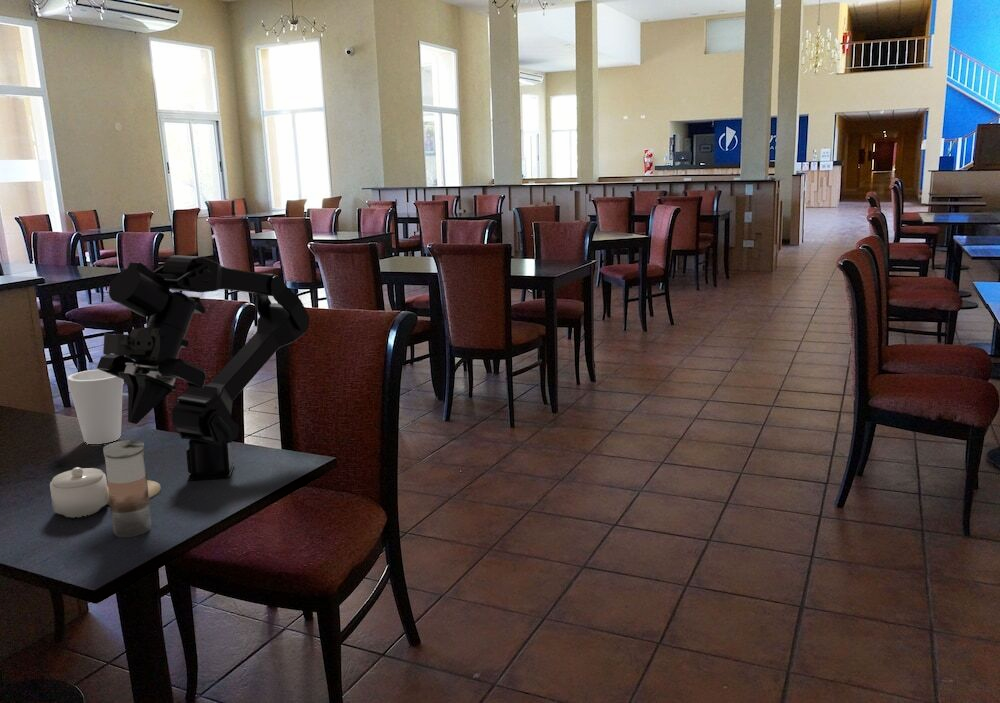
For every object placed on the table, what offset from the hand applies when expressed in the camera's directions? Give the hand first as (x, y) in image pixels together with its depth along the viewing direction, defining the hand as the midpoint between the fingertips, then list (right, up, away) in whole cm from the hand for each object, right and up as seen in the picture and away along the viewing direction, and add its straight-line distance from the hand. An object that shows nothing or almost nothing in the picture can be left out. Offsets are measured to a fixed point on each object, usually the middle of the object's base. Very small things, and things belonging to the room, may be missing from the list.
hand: (132, 423), depth 122 cm
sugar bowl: (-8, -13, +1) cm, 16 cm away
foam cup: (-21, -6, +34) cm, 40 cm away
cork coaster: (-4, -12, +8) cm, 15 cm away
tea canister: (+3, -15, -6) cm, 16 cm away
